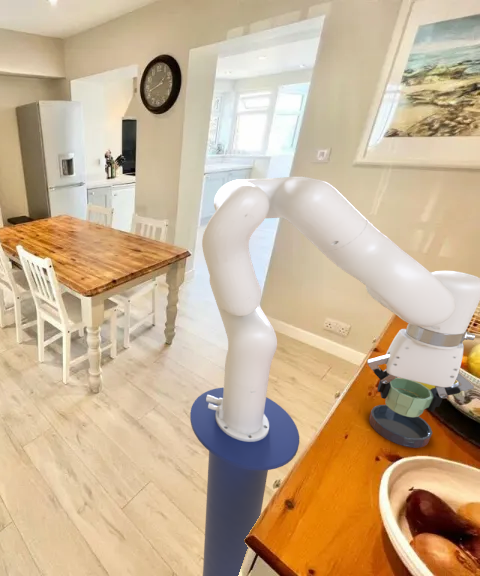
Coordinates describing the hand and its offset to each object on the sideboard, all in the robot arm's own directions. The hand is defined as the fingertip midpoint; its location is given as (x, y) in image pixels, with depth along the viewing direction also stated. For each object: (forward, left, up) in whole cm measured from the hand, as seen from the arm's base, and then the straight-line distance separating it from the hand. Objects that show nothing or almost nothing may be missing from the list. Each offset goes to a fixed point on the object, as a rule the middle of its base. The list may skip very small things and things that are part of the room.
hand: (405, 400), depth 68 cm
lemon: (+6, +15, -9) cm, 18 cm away
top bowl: (0, 0, -2) cm, 2 cm away
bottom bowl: (+1, 0, -9) cm, 9 cm away
